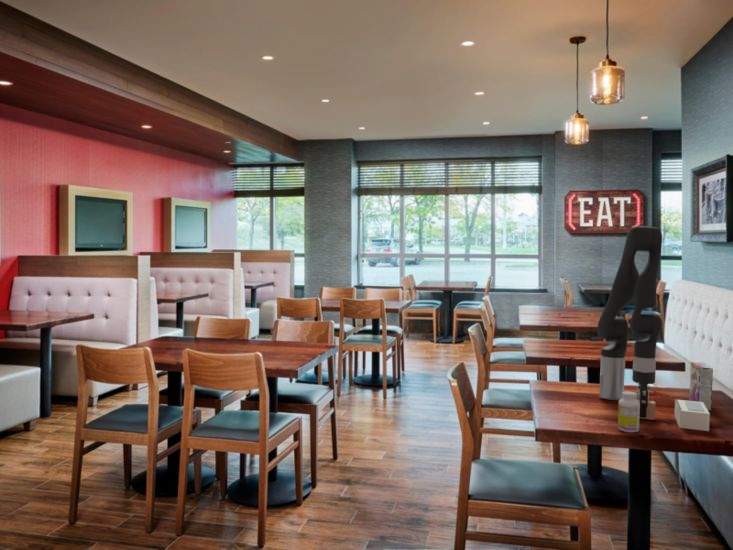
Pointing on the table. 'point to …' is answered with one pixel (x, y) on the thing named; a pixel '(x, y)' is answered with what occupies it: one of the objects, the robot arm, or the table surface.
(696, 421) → the block
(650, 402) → the tan cardboard box
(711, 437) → the table surface
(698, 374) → the candy bar box
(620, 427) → the supplement bottle
